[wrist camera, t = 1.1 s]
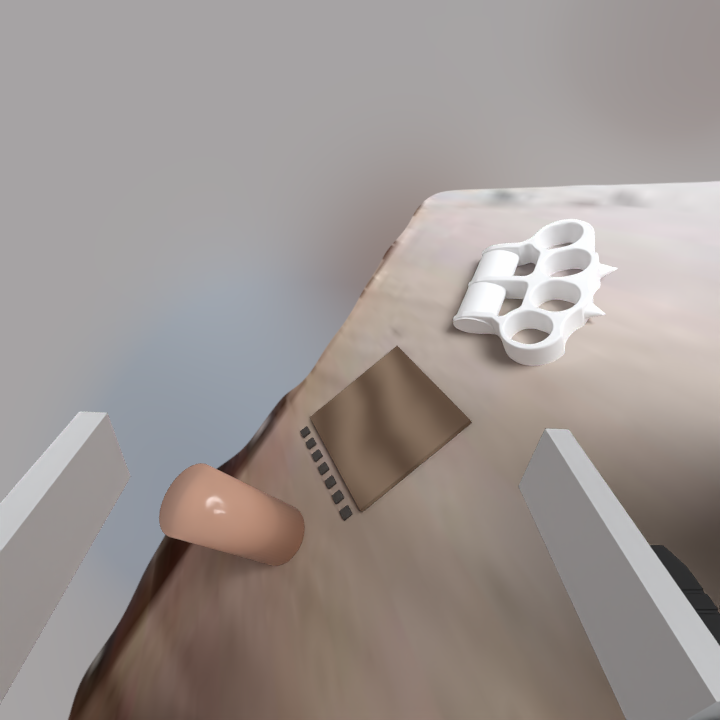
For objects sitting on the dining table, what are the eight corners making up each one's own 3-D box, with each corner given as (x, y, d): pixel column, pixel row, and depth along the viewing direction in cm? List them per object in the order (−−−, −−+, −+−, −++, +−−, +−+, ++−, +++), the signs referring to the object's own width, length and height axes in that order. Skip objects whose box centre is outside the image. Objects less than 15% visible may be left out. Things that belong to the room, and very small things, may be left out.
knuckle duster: (495, 244, 51) (628, 238, 42) (447, 355, 45) (593, 377, 36) (489, 224, 49) (629, 213, 40) (438, 338, 42) (592, 356, 33)
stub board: (399, 348, 48) (397, 345, 48) (471, 422, 38) (470, 420, 38) (300, 429, 48) (297, 427, 48) (347, 524, 38) (344, 523, 38)
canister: (293, 494, 43) (209, 449, 34) (312, 541, 39) (221, 505, 30) (252, 528, 43) (156, 492, 34) (266, 578, 39) (162, 553, 30)
